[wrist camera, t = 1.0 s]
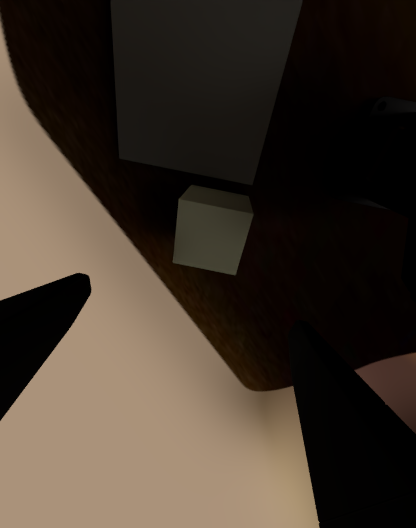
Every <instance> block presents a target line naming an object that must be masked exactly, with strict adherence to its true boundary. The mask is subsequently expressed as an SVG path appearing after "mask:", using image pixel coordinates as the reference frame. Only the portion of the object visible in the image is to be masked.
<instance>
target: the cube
mask: <svg viewBox="0 0 416 528" xmlns="http://www.w3.org/2000/svg"><path fill="white" fill-rule="evenodd" d="M252 217H253V211H252V207H251V203H250V200H249V196H246V195H241V194H236V193H231V192H226V191H221V190H216V189H211V188H206V187H201V186H196V185H191V186H190V187H189V188H188V189H187V190H186V191H185V193H184V194H183V195H182V196H181V197H180V198H179V202H178V213H177V224H176V235H175V246H174V257H173V263H177V264H182V265H187V266H192V267H197V268H202V269H207V270H212V271H217V272H222V273H227V274H232V275H236V271H237V268H238V265H239V261H240V258H241V254H242V251H243V248H244V244H245V241H246V238H247V234H248V231H249V227H250V224H251V221H252Z"/></svg>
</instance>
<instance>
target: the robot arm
mask: <svg viewBox="0 0 416 528" xmlns="http://www.w3.org/2000/svg"><path fill="white" fill-rule="evenodd" d="M379 103H382V104H383V106H382V109H381V110H380V111H378V109H377V107H378V105H379ZM338 170H339V174H338V176H337V178H336V180H335V182H334V184H333V186H332V189H331V191H330V195H331V197H333V198H335V199H339V200H344V201H348V202H353V203H358V204H363V205H368V206H373V207H378V208H383V209H388V210H392V211H394V212H396V213H398V214H401V215H403V216H405V217H407V218H409V221H408V228H407V236H406V244H405V251H404V259H403V267H402V275H401V278H402V280H403V282H404V284H405V286H406V287H407V289H408V290H409V291H410V292H411V295H410V298H411V299H412V300H413V301H414V302H416V102H411V101H406V100H402V99H397V98H392V97H380V98H378V99H376V100H375V101H374V102H373V103H372V105H371V106H370V108H369V111H368V113H367V115H366V117H365V119H364V121H363V123H362V125H361V127H360V129H359V130H357V131H356V132H355V134H354V136H353V138H352V140H351V142H350V144H349V147H348V149H347V151H346V153H345V155H344V157H343V159H342V162H341V164H340V166H339V168H338ZM339 189H340V193H339V194H337V195H336V194H335V193H336V191H337V190H339ZM90 294H91V285H90V278H89V276H88V275H86V274H82V273H76V274H73V275H70V276H68V277H65V278H62V279H59V280H56V281H54V282H51V283H48V284H45V285H43V286H40V287H37V288H34V289H31V290H29V291H26V292H23V293H20V294H17V295H15V296H12V297H9V298H6V299H3V300H1V301H0V421H1V419H2V418H3V416H4V415H5V414H6V413H7V411H8V410H9V408H10V407H11V406H12V405H13V403H14V402H15V401H16V399H17V398H18V397H19V395H20V394H21V393H22V391H23V390H24V389H25V387H26V386H27V385H28V383H29V382H30V381H31V379H32V378H33V376H34V375H35V374H36V373H37V371H38V370H39V369H40V367H41V366H42V365H43V363H44V362H45V361H46V359H47V358H48V357H49V355H50V354H51V353H52V351H53V350H54V348H55V347H56V346H57V345H58V343H59V342H60V341H61V339H62V338H63V337H64V335H65V334H66V333H67V331H68V330H69V328H70V327H71V326H72V324H73V323H74V321H75V319H76V318H77V316H78V314H79V313H80V311H81V309H82V308H83V306H84V304H85V303H86V301H87V299H88V297H89V296H90ZM288 342H289V355H290V368H291V376H292V381H293V387H294V392H295V397H296V403H297V408H298V414H299V418H300V424H301V430H302V435H303V440H304V446H305V451H306V457H307V462H308V467H309V473H310V478H311V483H312V489H313V494H314V499H315V505H316V510H317V516H318V521H319V522H320V523H319V527H320V528H416V434H415V433H414V432H413V431H412V430H411V429H410V428H409V427H408V426H407V425H406V424H405V423H404V422H403V421H402V420H401V419H400V418H399V417H398V416H397V415H396V413H394V411H393V410H392V409H391V408H390V407H389V406H388V405H385V402H384V401H383V400H382V399H381V398H380V397H379V396H378V395H377V394H376V393H375V392H374V391H373V390H372V389H371V388H370V387H369V385H368V384H367V383H366V382H365V381H364V380H363V379H362V378H361V377H360V376H359V375H358V374H357V373H356V372H355V371H354V370H353V369H352V368H351V367H350V366H349V365H348V364H347V363H346V362H345V361H344V359H343V358H342V357H341V356H340V355H339V354H338V353H337V352H336V351H335V350H334V349H333V348H332V347H331V346H330V345H329V344H328V343H327V342H326V341H325V340H324V339H323V338H322V337H321V336H320V335H319V333H318V332H317V331H316V330H315V329H314V328H313V327H312V326H311V325H310V324H309V323H308V322H306V321H301V320H297V321H296V322H295V323H294V325H293V326H292V328H291V330H290V331H289V334H288Z"/></svg>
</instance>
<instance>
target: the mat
mask: <svg viewBox="0 0 416 528" xmlns="http://www.w3.org/2000/svg"><path fill="white" fill-rule="evenodd" d="M302 1H303V0H111V18H112V36H113V54H114V73H115V91H116V109H117V127H118V145H119V159H124V160H129V161H134V162H139V163H144V164H149V165H154V166H159V167H164V168H169V169H174V170H179V171H184V172H189V173H194V174H199V175H204V176H209V177H214V178H219V179H224V180H229V181H234V182H238V183H243V184H248V185H253V181H254V177H255V174H256V170H257V166H258V163H259V159H260V155H261V152H262V148H263V144H264V141H265V137H266V133H267V130H268V126H269V122H270V119H271V115H272V111H273V108H274V104H275V100H276V97H277V93H278V89H279V86H280V82H281V78H282V75H283V71H284V67H285V64H286V60H287V56H288V53H289V49H290V45H291V42H292V38H293V34H294V31H295V27H296V23H297V20H298V16H299V12H300V9H301V5H302Z"/></svg>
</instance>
